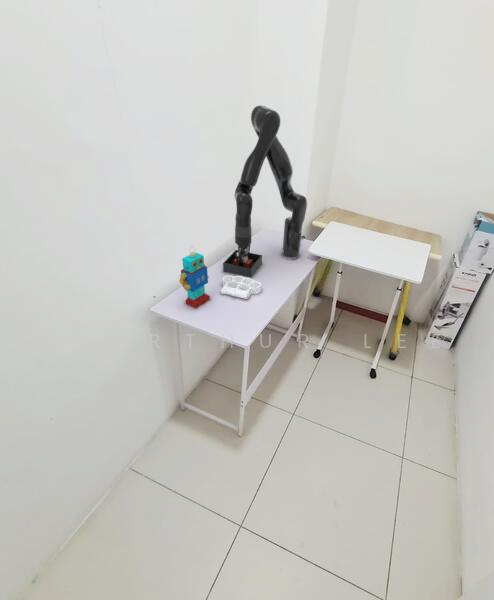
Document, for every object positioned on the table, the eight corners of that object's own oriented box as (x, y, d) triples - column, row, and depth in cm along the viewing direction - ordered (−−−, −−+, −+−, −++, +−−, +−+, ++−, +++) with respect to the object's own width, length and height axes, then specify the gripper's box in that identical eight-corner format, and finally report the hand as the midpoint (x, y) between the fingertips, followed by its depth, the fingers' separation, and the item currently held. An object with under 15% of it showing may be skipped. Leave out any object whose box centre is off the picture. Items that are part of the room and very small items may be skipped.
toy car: (233, 267, 163) (233, 257, 160) (237, 263, 166) (237, 253, 163) (249, 270, 161) (249, 261, 158) (252, 266, 165) (252, 257, 162)
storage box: (235, 258, 172) (235, 249, 169) (261, 264, 169) (262, 255, 166) (223, 272, 159) (222, 263, 157) (251, 278, 157) (251, 269, 154)
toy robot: (192, 310, 134) (186, 255, 119) (181, 304, 136) (174, 250, 122) (212, 297, 142) (209, 244, 128) (202, 292, 145) (197, 239, 130)
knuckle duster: (214, 293, 145) (228, 277, 156) (253, 302, 141) (264, 285, 153) (214, 287, 143) (228, 271, 154) (253, 296, 140) (265, 279, 151)
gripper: (245, 241, 147) (244, 274, 157) (256, 229, 159) (255, 260, 169) (229, 238, 149) (230, 271, 159) (241, 226, 160) (241, 257, 170)
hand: (243, 265), depth 164 cm, fingers closed on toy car, 4 cm apart
